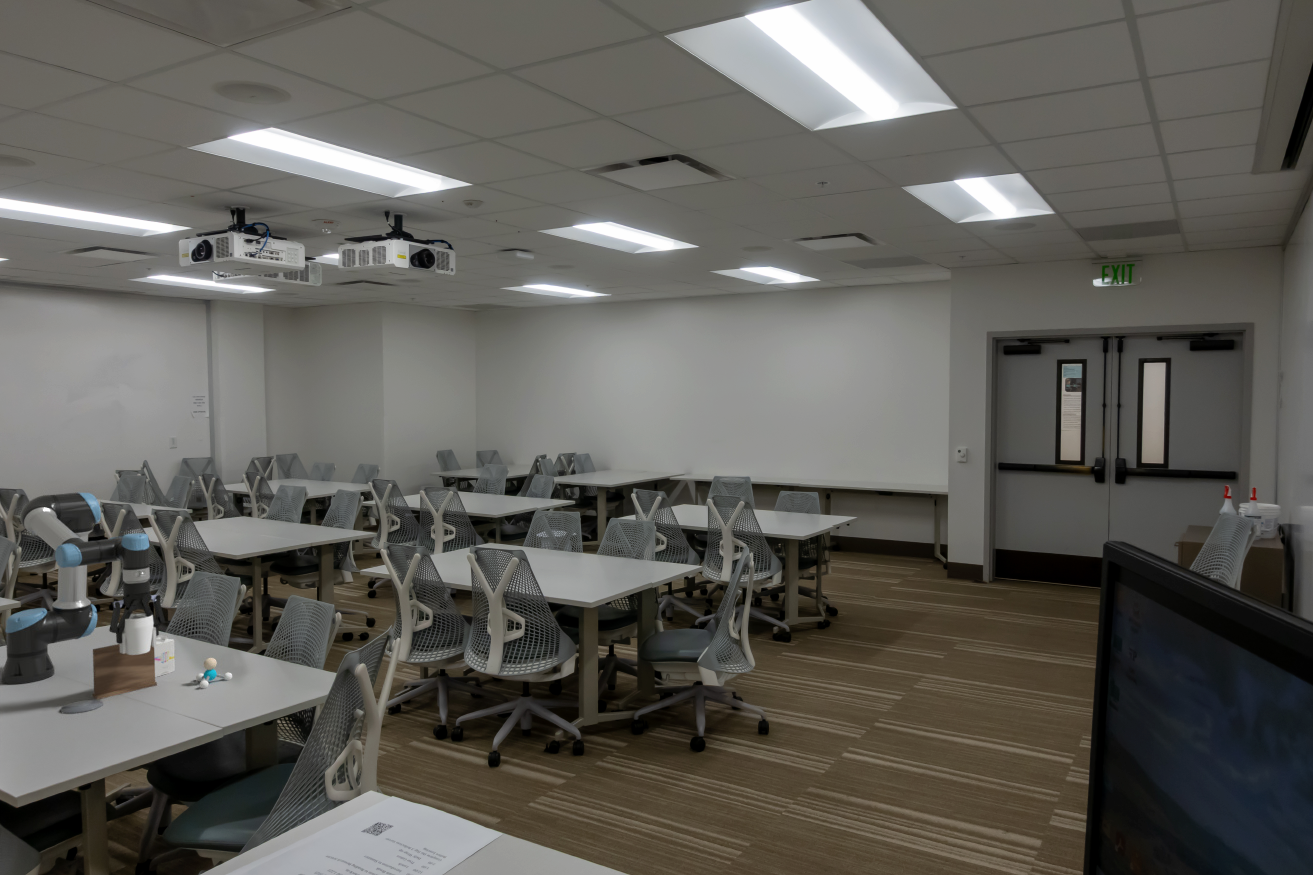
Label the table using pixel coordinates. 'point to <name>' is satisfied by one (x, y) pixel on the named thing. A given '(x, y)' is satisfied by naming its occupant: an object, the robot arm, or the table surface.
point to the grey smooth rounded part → (81, 706)
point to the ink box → (164, 656)
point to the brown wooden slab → (121, 671)
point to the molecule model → (210, 673)
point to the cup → (138, 633)
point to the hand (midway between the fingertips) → (138, 649)
